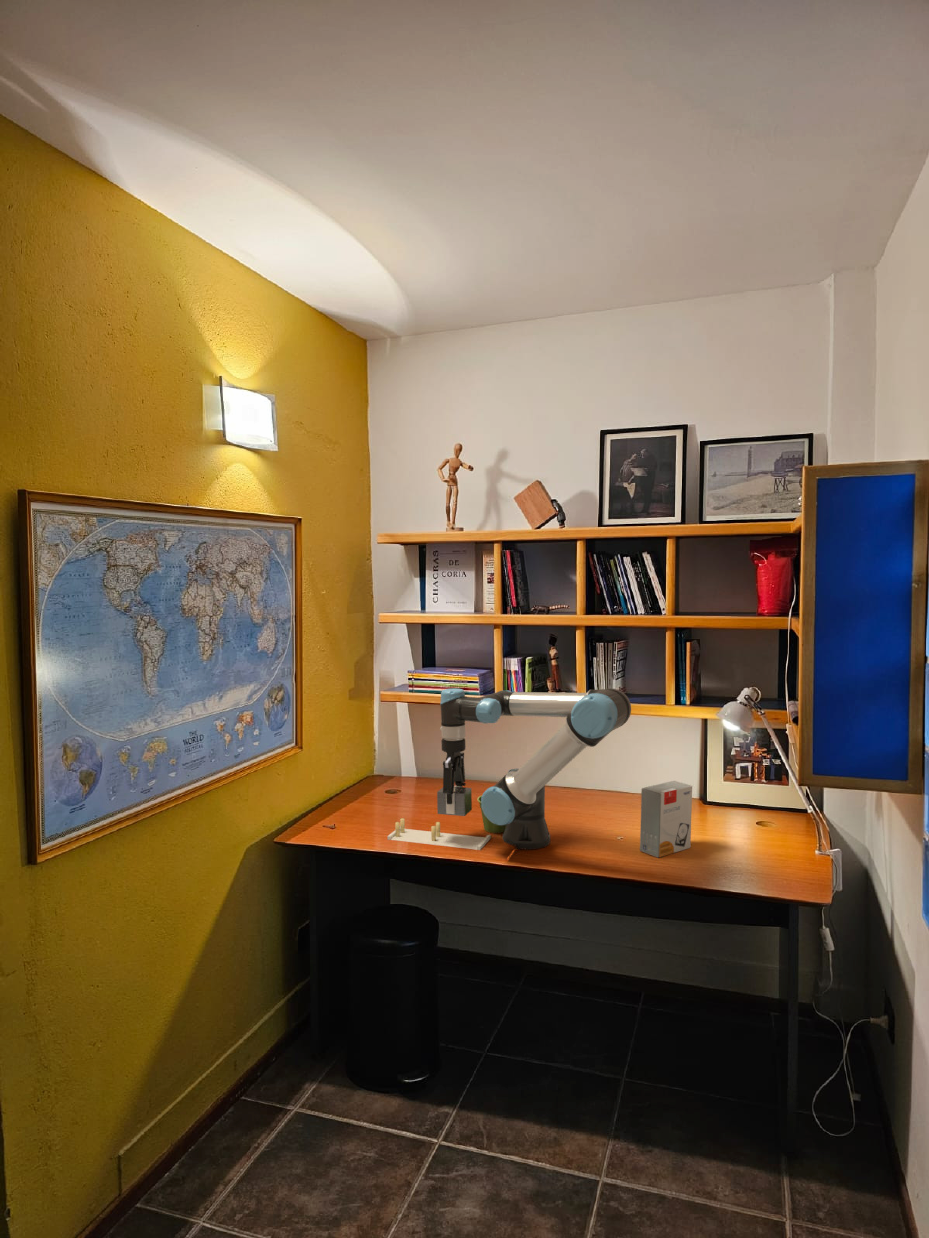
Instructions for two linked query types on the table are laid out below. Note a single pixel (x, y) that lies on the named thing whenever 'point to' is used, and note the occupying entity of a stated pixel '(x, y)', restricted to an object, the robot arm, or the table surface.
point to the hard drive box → (665, 818)
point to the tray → (436, 837)
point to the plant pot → (488, 824)
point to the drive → (456, 801)
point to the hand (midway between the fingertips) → (454, 809)
